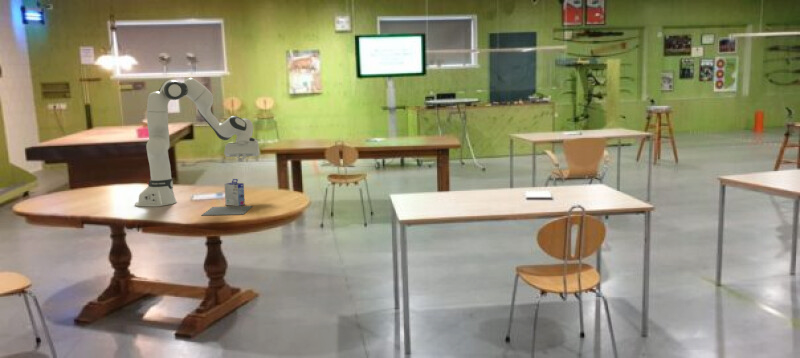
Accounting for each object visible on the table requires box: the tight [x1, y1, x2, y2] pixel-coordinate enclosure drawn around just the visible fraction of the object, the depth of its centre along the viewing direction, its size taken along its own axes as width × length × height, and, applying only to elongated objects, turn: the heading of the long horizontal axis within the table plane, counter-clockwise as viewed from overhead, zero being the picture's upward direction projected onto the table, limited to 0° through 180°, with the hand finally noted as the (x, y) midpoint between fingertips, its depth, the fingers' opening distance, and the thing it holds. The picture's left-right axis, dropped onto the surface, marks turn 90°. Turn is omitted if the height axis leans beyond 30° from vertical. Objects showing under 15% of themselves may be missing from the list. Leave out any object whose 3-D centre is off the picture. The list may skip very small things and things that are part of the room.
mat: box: [201, 205, 253, 217], centre depth 344 cm, size 22×20×1 cm
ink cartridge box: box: [224, 178, 246, 206], centre depth 358 cm, size 10×6×14 cm, turn 65°
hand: (240, 161), depth 373 cm, fingers closed
